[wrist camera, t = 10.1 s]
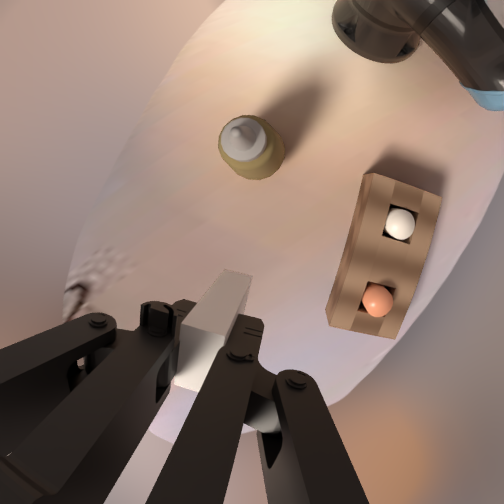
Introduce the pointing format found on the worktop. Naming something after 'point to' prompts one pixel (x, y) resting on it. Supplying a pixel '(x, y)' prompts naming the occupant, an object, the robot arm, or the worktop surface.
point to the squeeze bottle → (251, 147)
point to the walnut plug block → (381, 256)
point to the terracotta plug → (377, 299)
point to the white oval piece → (399, 223)
